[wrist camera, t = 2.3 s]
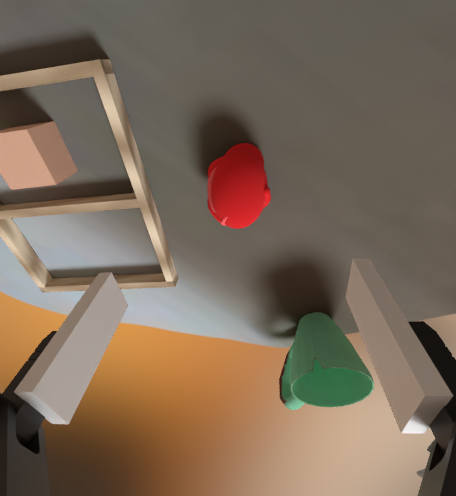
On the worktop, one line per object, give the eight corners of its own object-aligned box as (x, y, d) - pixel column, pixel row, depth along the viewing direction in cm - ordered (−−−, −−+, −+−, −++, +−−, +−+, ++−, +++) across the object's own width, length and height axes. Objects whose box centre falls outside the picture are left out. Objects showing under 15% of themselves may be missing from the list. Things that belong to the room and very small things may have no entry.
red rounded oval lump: (259, 237, 28) (289, 212, 22) (205, 236, 26) (223, 208, 20) (250, 173, 30) (275, 136, 25) (200, 167, 28) (215, 126, 23)
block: (10, 127, 26) (-24, 137, 23) (54, 120, 25) (26, 129, 22) (38, 175, 29) (11, 189, 26) (78, 170, 28) (56, 184, 25)
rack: (-86, 91, 25) (-107, 93, 23) (109, 59, 22) (99, 59, 21) (50, 283, 39) (42, 292, 37) (178, 277, 36) (175, 286, 35)
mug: (307, 291, 36) (323, 357, 28) (363, 315, 38) (393, 383, 30) (255, 344, 44) (256, 408, 36) (303, 361, 46) (315, 425, 38)
